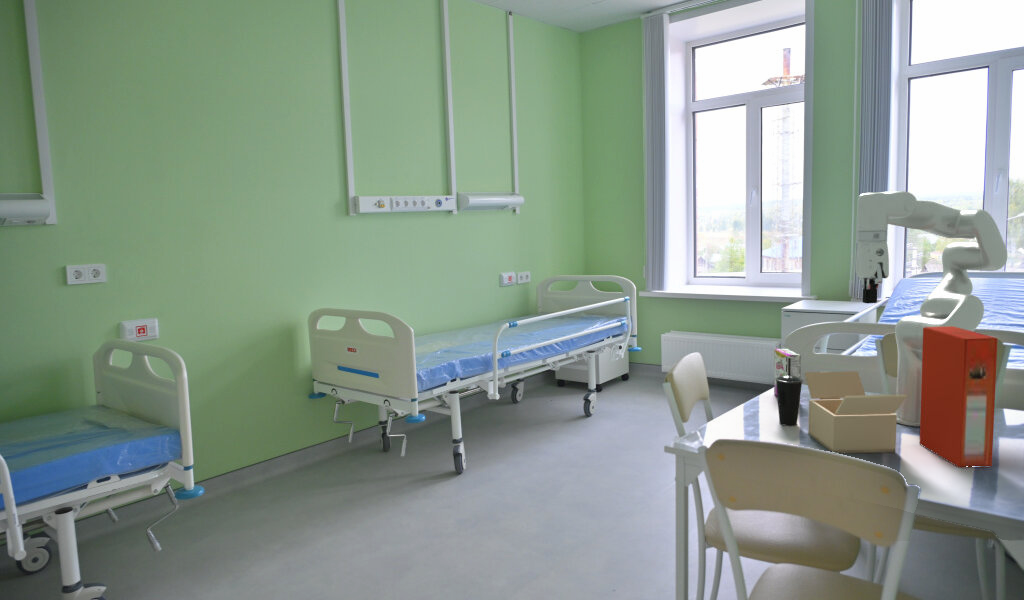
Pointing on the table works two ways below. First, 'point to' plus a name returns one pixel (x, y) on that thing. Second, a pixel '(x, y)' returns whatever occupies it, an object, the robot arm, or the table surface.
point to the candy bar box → (785, 364)
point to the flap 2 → (870, 404)
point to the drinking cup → (788, 397)
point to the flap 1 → (834, 384)
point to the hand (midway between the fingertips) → (869, 302)
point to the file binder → (958, 395)
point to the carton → (851, 429)
